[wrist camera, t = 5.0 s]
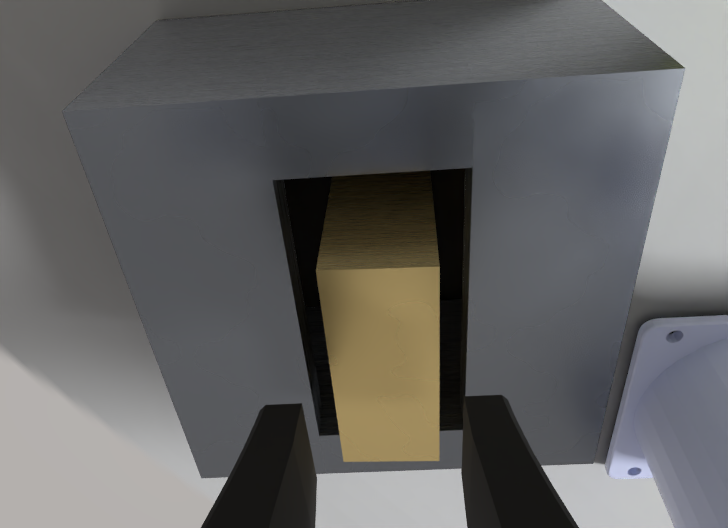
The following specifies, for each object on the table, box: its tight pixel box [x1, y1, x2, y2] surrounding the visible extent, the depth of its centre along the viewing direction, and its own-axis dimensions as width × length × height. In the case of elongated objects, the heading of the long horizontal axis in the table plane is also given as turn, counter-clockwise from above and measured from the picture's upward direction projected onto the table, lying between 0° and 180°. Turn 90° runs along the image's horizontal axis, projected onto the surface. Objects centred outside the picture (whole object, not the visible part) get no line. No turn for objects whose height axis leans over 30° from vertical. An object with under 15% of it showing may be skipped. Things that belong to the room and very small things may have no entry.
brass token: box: [316, 170, 440, 462], centre depth 13 cm, size 2×5×4 cm, turn 4°
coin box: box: [62, 0, 685, 478], centre depth 15 cm, size 10×10×6 cm
